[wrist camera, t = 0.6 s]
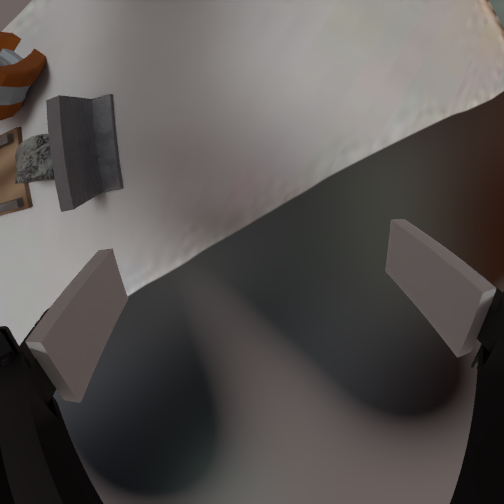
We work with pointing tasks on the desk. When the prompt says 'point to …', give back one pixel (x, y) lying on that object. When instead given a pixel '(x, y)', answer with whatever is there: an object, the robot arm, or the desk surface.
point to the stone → (34, 160)
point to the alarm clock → (16, 74)
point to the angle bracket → (83, 148)
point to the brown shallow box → (11, 175)
